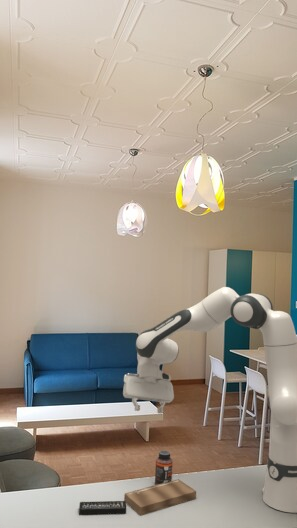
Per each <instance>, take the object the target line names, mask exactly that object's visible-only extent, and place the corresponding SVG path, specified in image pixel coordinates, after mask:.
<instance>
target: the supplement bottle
mask: <svg viewBox="0 0 297 528" xmlns="http://www.w3.org/2000/svg"><path fill="white" fill-rule="evenodd" d="M173 463H174V462H173V458H171V451H169V450H160V451H159V452H158V457H156V460H155V474H154V477H155V478H154V483H155V485H158V484H162V483H166V482H169V481H173V479H172V478H173Z"/></svg>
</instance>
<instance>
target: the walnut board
mask: <svg viewBox="0 0 297 528" xmlns="http://www.w3.org/2000/svg"><path fill="white" fill-rule="evenodd" d="M123 496H124V498H123V499H124V500H123V501H125V502H126V505H128V506H129V507H130V508H131V509H133V510H134V512H135V513H136V514H138V515H139V516H143V515H147V514H150V513H154V512H157V511H160V510H163V509H167V508H170V507H173V506H176V505H177V506H178V505H179V504H183V503H186V502H190V501H192V500H196V499H197V490H196V489H194V488H193V487H191V486H190V485H188V484H187V483H185V482H183V481H182V480H180V479H177V478H176V479H172V481H169V482H166V483H162V484H158V485H156V484H155V485H151V486H147V487H144V488H140V489H139V488H138V489H134V490H132V491H127V492H124V495H123Z"/></svg>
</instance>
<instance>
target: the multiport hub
mask: <svg viewBox="0 0 297 528" xmlns="http://www.w3.org/2000/svg"><path fill="white" fill-rule="evenodd" d="M78 509H79V510H78V512H79V513H78V514H79V516H97V515H99V516H100V515H101V516H103V515H104V516H106V515H126V514H127V503H126V502H125V501H124V500H114V501H113V500H110V501H108V500H107V501H106V500H105V501H103V500H102V501H80V502H79V508H78Z"/></svg>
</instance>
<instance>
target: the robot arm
mask: <svg viewBox="0 0 297 528" xmlns="http://www.w3.org/2000/svg"><path fill="white" fill-rule="evenodd" d="M273 308H274V307H273V302H272V300H271V299H270V298H269V297H268V296H267V295H265V294H262V293H246V294H243V295H239V294H238V293H237V292H236V291H235V290H234V289H233V288H231V287H229V286H223V287H220V288H219V289H217V290H214V291H213V292H212V293H210V294H209V295H208V296H205V298H203V299H202V300H201V301H200V302H198V303H196V304H195V305H193V306H191V307H188V308H185V309H182V310H179V311H178V312H175V313H174V314H172V315H170V317H167V318H166V319H165V320H163V321H161V322H160V323H159V324H156V325H155V326H153V327H151V328H149V329H146V330H143V331H142V332H141V333H139V335H138V336H137V338H136V340H135V349H136V352H137V353H136V355H137V356H136V358H137V369H136V371H137V372H136V373H132V372H127V373H126V374H124V376H123V383H124V384H123V388H122V389H123V391H122V395H123V397H124V399H131V403H132V404H133V406H134V411H136V412H139V411H140V410H141V405H140V404H138V402H137V401H138V400H141V401H142V400H143V401H150V402H156V403H157V402H159V405H160V406H159V407H158V408H157V414H163V413H164V407H165V405H166V404H170V403H171V402H173V401H174V399H175V394H174V393H175V392H174V386H173V383H172V382H171V380H172V376H171V375H170V374H169V373H166V372H164V371H162V370H161V369H160V366H161V365H169V364H172V363H174V362H175V361H176V360H177V359H178V356H179V352H180V351H179V345H178V342H176V341H175V340H173V339H171V338H170V337H172V336H173V335H175V334H176V333H178V332H182V331H193V332H200V333H208V332H212V331H213V330H216V329H217V328H219V327H220V326H221V325H223V323H224V322H226V321H227V320H228V319H230V318H232V320H233V321H234V322H235V323H236V324H238V326H239V325H240V326H242V327H246V328H250V329H254V330H260V331H261V334H262V340H263V341H262V342H263V348H264V349H263V350H264V357H265V358H264V359H265V364H266V374H267V375H266V376H267V386H268V387H267V388H268V398H269V408H270V424H269V425H270V426H269V441H268V442H269V449H268V456H267V460H266V463H267V465H266V466H267V469H266V471H265V478H264V486H263V487H262V489H261V492H262V500H263V502H264V503H265V505H267V506H268V507H271V508H272V509H274V510H278V511H281V512H285V513H292V514H293V513H294V514H297V333H296V329H295V325H294V322H293V320H292V317H291V315H290V314H289V313H287V312H285V311H282V310H274V309H273Z"/></svg>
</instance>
